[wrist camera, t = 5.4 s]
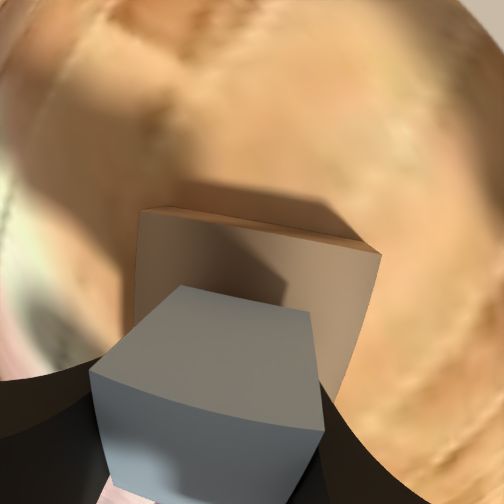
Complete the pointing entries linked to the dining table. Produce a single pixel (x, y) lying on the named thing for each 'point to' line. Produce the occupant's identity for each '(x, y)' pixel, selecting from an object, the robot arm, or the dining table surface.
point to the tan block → (260, 273)
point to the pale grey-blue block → (210, 401)
